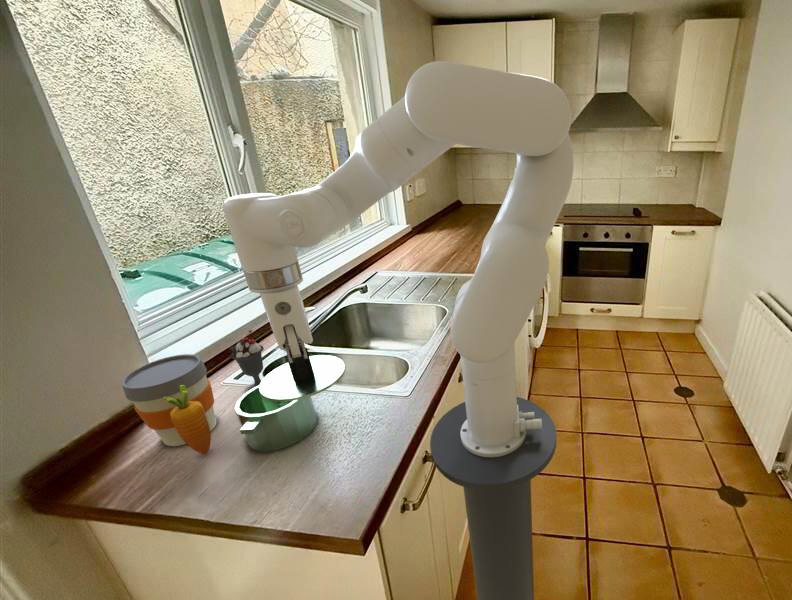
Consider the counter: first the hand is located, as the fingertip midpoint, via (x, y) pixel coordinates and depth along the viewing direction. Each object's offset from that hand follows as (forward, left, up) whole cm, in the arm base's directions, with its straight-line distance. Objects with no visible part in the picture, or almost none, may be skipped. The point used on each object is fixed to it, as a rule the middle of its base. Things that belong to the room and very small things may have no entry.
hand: (303, 374), depth 68 cm
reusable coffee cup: (+32, -8, -18) cm, 37 cm away
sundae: (+26, -23, -18) cm, 38 cm away
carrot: (+24, -1, -18) cm, 30 cm away
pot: (+12, -7, -17) cm, 22 cm away
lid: (0, 0, -1) cm, 1 cm away
